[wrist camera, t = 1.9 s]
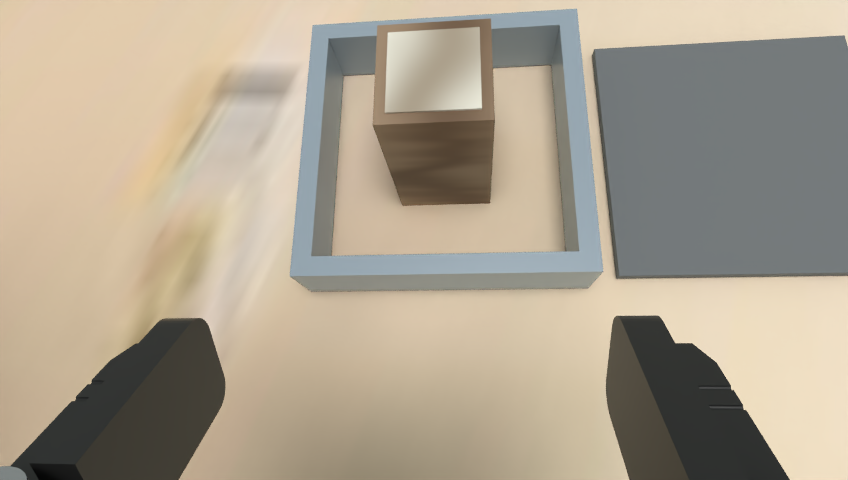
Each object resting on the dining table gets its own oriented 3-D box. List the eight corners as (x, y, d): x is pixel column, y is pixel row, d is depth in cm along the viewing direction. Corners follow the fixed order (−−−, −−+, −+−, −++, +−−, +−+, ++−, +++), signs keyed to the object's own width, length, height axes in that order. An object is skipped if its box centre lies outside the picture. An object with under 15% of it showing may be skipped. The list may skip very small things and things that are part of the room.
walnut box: (402, 205, 30) (372, 123, 21) (404, 129, 32) (376, 23, 23) (489, 203, 30) (494, 118, 21) (487, 125, 31) (491, 16, 22)
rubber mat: (616, 278, 28) (619, 275, 27) (592, 55, 32) (594, 49, 31) (903, 274, 26) (912, 271, 26) (837, 42, 30) (844, 35, 30)
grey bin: (311, 291, 29) (289, 276, 26) (329, 63, 34) (312, 25, 30) (588, 288, 27) (603, 271, 24) (566, 50, 32) (577, 8, 29)
